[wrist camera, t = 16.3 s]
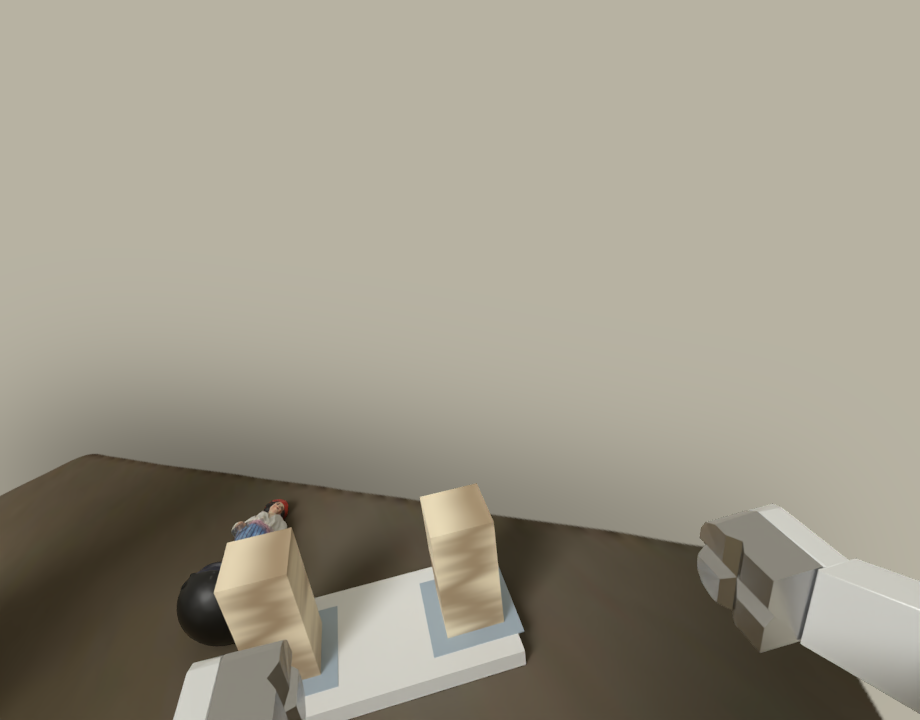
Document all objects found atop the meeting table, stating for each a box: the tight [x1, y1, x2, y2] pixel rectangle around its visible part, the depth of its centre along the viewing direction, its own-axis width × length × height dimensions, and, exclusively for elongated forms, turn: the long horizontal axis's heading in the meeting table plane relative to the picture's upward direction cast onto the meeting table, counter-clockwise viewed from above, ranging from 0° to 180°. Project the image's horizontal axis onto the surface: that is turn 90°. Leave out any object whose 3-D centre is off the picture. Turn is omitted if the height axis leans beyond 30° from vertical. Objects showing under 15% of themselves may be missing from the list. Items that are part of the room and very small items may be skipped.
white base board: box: [302, 566, 526, 720], centre depth 40 cm, size 21×10×2 cm, turn 104°
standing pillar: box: [214, 527, 322, 680], centre depth 36 cm, size 4×4×10 cm
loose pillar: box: [420, 483, 504, 638], centre depth 38 cm, size 4×4×10 cm
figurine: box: [177, 499, 288, 646], centre depth 47 cm, size 8×7×18 cm
